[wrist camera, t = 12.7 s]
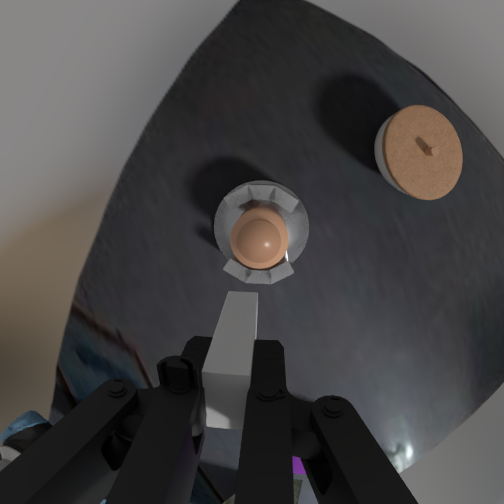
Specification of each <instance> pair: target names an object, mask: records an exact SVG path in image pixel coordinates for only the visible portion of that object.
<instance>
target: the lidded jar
mask: <svg viewBox="0 0 504 504" xmlns="http://www.w3.org/2000/svg"><path fill="white" fill-rule="evenodd" d="M374 153H375V159H376V163H377V166H378V168H379V170H380V172H381V174H382V175H383V177H384V178H385V179H386V180H387V181H388V182H389V183H390V184H391V185H392V186H393V187H394V188H396V189H397V190H399V191H401V192H403V193H405V194H408V195H410V196H413V197H415V198H418V199H423V200H434V199H438V198H440V197H443V196H444V195H446V194H447V193H448V192H449V191H451V190H452V188H453V187H454V186H455V184H456V182H457V181H458V178H459V176H460V173H461V168H462V149H461V144H460V141H459V138H458V135H457V133H456V131H455V129H454V128H453V126H452V125H451V123H450V122H449V121H448V120H447V119H446V118H445V117H444V116H443V115H442V114H441V113H439V112H438V111H436V110H435V109H433V108H430V107H427V106H423V105H412V106H408V107H405V108H403V109H401V110H399V111H398V112H397V113H395V114H393V115H392V116H390V117H389V118H388V119H387V120H386V121H385V122H384V123H383V124H382V126H381V127H380V129H379V131H378V133H377V135H376V139H375V145H374Z"/></svg>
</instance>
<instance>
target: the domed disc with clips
mask: <svg viewBox="0 0 504 504" xmlns="http://www.w3.org/2000/svg"><path fill="white" fill-rule="evenodd" d="M257 204H266V205H270V206H272V207H274V208H275V209H277V210H278V211H279V212H280V213H281V215H282V216H283V218H284V221H285V225H286V228H287V232H288V237H289V243H288V248H287V251H286V253H285V255H284V256H283V258H282V259H281V260H280V261H279V262H278V263H276V264H275V265H273V266H271V267H268V268H262V269H258V268H252V267H249V266H246V265H245V264H243V263H242V262H240V261H239V260H238V259H237V258H236V256H235V255H234V253H233V251H232V248H231V244H230V235H231V231H232V228H233V226H234V225H235V223H236V222H237V220H238V219H239V217H240V216H241V215H242V213H243V212H244V211H245V210H246V209H247V208H249V207H251V206H253V205H257ZM214 234H215V239H216V242H217V244H218V246H219V249H220V250H221V252H222V253H223V255H224V256H225V257H226V258H227V259H228V260H227V262H226V264H225V266H224V268H223V270H225V271H226V272H228V273H230V274H231V275H233V276H235V277H236V278H238V279H240V280H241V281H243V282H245V283H258V284H272V283H275V282H277V281H279V280H281V279H283V278H285V277H287V276H289V275H291V274H293V273H294V268H293V264H292V263H293V262H294V261H295V260H296V259H297V258H298V256H299V255H300V254H301V252H302V251H303V249H304V247H305V245H306V242H307V239H308V234H309V221H308V216H307V212H306V210H305V208H304V206H303V204H302V202H301V201H300V199H299V198H298V197H297V196H296V195H295V194H294V193H293V192H292V191H291V190H289V189H288V188H286V187H285V186H283V185H281V184H278V183H276V182H272V181H265V180H257V181H251V182H247V183H244V184H242V185H240V186H238V187H236V188H235V189H233V190H232V191H231V192H229V193H228V194H227V195H226V196H225V197H224V199H223V200H222V202H221V203H220V205H219V207H218V209H217V212H216V215H215V220H214Z"/></svg>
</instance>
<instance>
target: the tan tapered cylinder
mask: <svg viewBox="0 0 504 504" xmlns="http://www.w3.org/2000/svg"><path fill="white" fill-rule="evenodd" d="M288 243H289V237H288V232H287V228H286V225H285V221H284V218H283V216H282V215H281V213H280V212H279V211H278V210H277V209H275V208H274V207H272V206H270V205H266V204H257V205H253V206H251V207H249V208H247V209H246V210H245V211H244V212H243V213H242V215H241V216H240V217H239V219H238V220H237V222H236V223H235V225H234V226H233V228H232V231H231V235H230V244H231V248H232V251H233V253H234V255H235V256H236V258H237V259H238V260H239V261H240V262H242V263H243V264H245V265H246V266H249V267H252V268H258V269H262V268H268V267H271V266H273V265H275V264H276V263H278V262H279V261H280V260H281V259H282V258H283V256H284V255H285V253H286V251H287V248H288Z"/></svg>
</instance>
